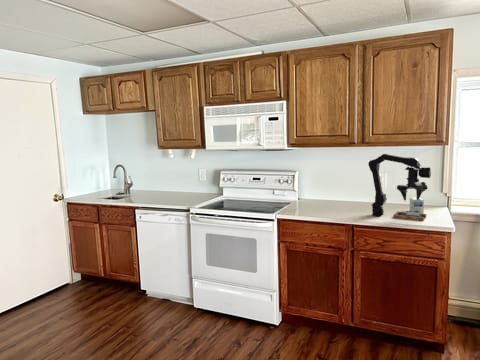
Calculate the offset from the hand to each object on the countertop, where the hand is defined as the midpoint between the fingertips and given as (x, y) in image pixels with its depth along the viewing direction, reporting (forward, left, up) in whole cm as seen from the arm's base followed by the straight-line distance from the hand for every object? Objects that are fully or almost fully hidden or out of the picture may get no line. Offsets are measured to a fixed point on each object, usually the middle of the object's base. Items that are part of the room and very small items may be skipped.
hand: (411, 200), depth 240 cm
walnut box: (-1, -1, -13) cm, 13 cm away
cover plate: (+2, -1, -12) cm, 12 cm away
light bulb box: (0, +18, -13) cm, 23 cm away
